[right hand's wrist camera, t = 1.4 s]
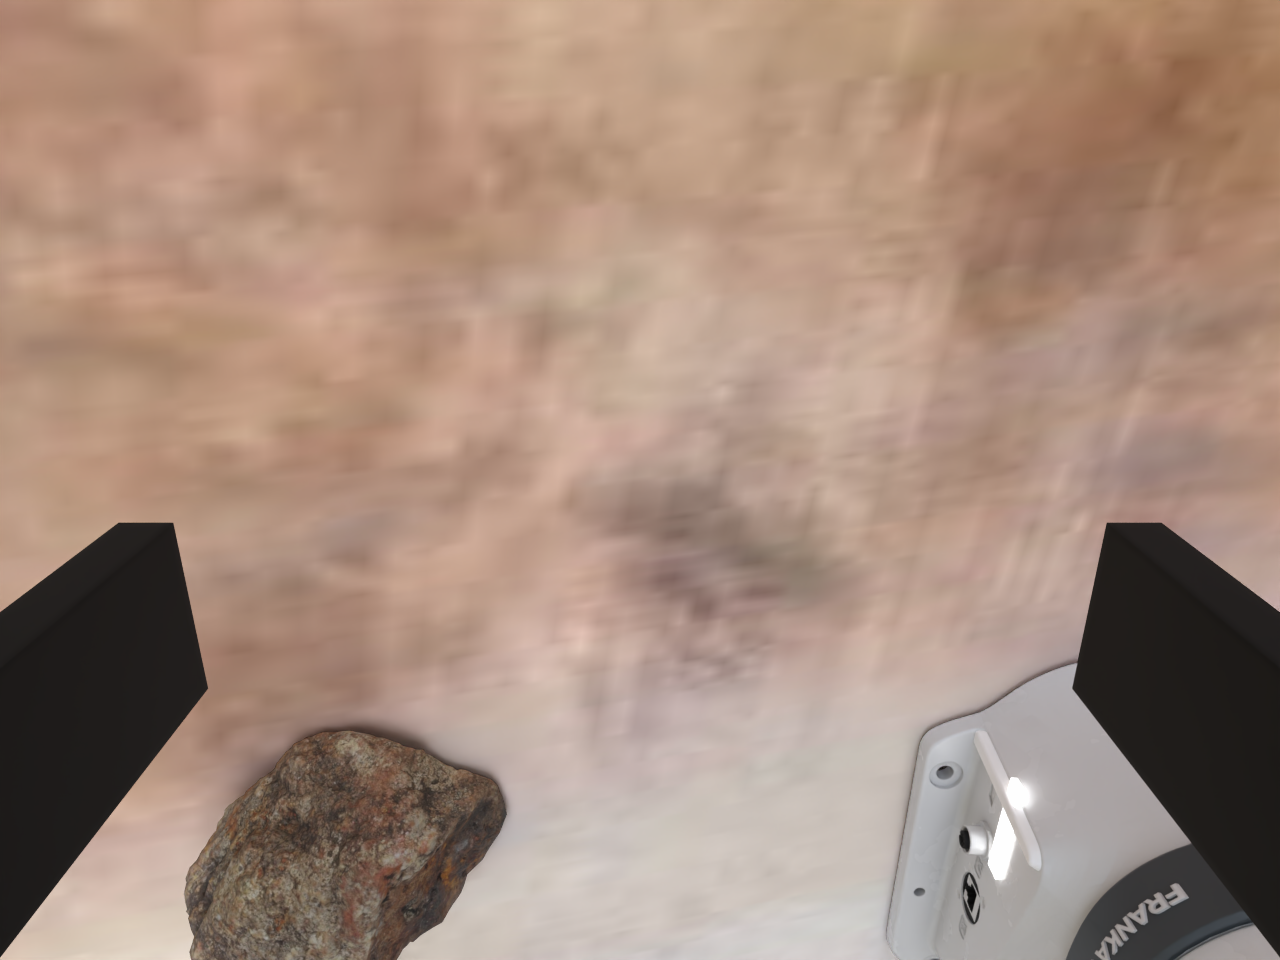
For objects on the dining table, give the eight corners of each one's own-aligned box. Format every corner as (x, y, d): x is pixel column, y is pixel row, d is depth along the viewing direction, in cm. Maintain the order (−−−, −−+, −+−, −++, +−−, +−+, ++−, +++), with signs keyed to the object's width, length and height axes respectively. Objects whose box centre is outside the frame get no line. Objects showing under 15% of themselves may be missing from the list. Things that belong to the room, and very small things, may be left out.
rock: (474, 889, 51) (523, 753, 47) (457, 1035, 43) (515, 885, 39) (209, 839, 48) (241, 691, 44) (138, 986, 40) (170, 819, 36)
